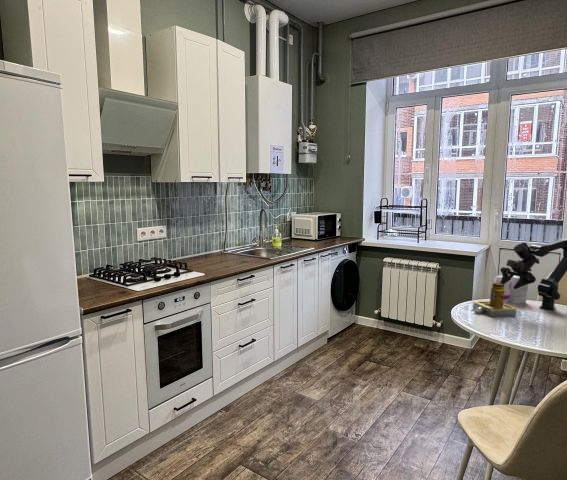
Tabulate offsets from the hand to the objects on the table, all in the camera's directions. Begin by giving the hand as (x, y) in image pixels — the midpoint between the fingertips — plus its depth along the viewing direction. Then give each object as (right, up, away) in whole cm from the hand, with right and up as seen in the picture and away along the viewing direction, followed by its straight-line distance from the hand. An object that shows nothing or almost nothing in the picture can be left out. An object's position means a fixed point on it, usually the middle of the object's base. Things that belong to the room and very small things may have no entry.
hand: (507, 286), depth 207 cm
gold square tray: (-9, -13, 0) cm, 16 cm away
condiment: (-7, -10, 0) cm, 12 cm away
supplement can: (+6, -11, +18) cm, 22 cm away
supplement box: (+16, -11, +23) cm, 30 cm away
